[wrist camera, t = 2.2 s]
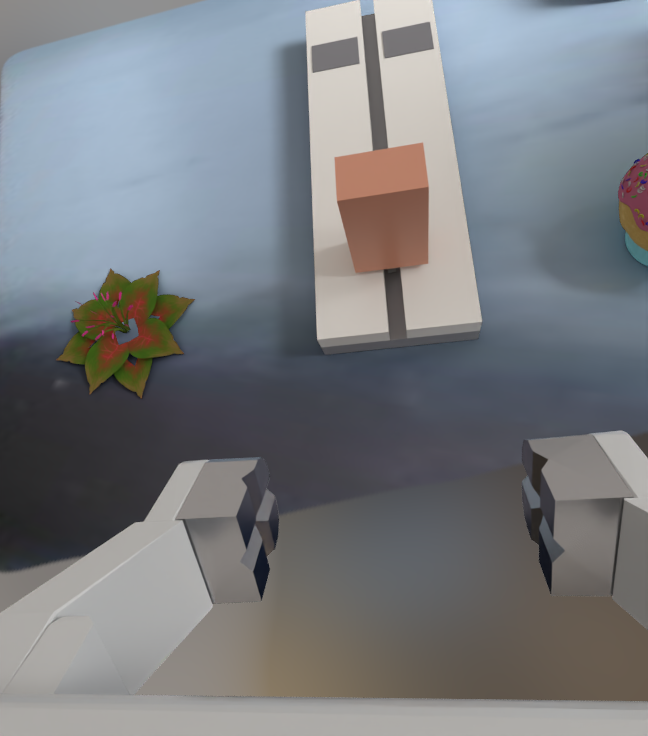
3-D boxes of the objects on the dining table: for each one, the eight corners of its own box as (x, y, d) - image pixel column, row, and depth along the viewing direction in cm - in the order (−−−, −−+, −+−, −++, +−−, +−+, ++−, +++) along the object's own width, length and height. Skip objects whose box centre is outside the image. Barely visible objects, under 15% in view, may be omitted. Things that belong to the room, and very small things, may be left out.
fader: (423, 240, 37) (423, 142, 28) (428, 276, 36) (428, 186, 27) (356, 249, 38) (334, 157, 29) (358, 285, 37) (336, 200, 28)
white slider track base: (429, 18, 46) (429, -17, 43) (477, 339, 36) (482, 321, 33) (312, 42, 48) (305, 10, 45) (325, 354, 37) (316, 339, 35)
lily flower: (222, 292, 41) (198, 264, 37) (151, 425, 39) (117, 410, 35) (111, 253, 45) (78, 223, 41) (39, 372, 42) (-5, 353, 38)
